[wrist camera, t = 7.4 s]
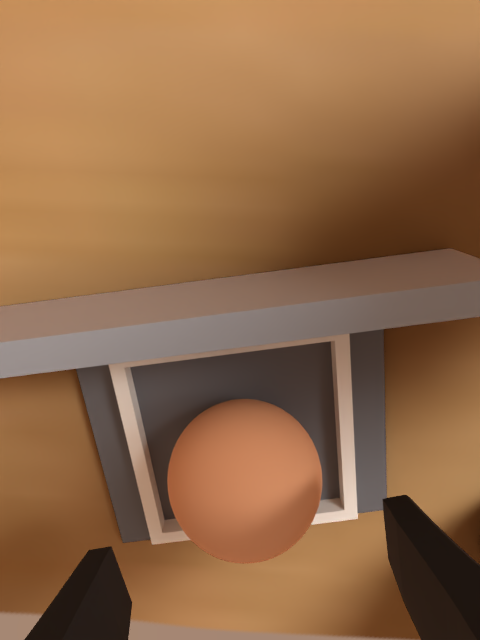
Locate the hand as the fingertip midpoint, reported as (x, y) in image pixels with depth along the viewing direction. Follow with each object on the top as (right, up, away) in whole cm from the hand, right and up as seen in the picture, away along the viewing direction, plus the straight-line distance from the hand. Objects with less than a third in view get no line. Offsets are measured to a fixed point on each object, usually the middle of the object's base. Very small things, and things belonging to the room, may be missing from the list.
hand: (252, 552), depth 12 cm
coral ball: (0, +1, +3) cm, 3 cm away
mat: (0, +2, +6) cm, 6 cm away
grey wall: (-1, +7, +4) cm, 8 cm away
